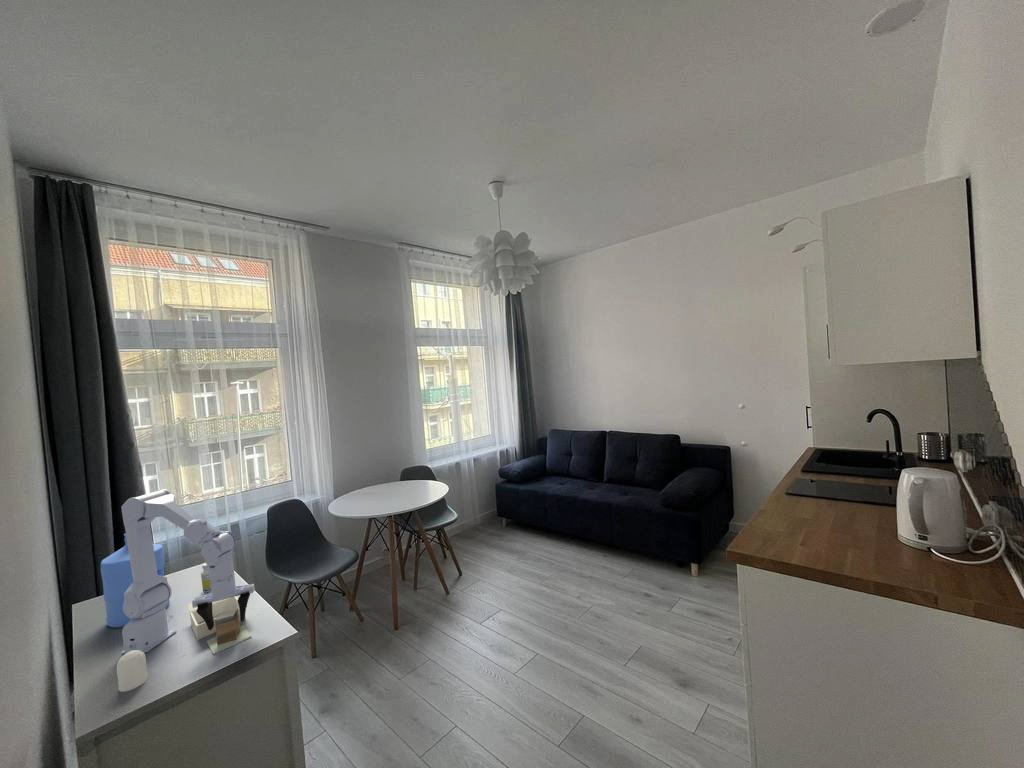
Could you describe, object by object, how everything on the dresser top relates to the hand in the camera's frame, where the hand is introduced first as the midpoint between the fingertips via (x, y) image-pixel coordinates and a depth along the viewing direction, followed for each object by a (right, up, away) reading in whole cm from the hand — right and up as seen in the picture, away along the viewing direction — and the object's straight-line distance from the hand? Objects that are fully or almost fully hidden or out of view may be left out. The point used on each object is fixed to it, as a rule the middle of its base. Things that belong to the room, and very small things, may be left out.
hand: (227, 623), depth 116 cm
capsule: (-13, -6, -15) cm, 21 cm away
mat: (+1, -5, 0) cm, 5 cm away
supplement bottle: (-30, -8, +34) cm, 46 cm away
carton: (-10, -6, +10) cm, 15 cm away
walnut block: (0, -4, 0) cm, 4 cm away
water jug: (-44, -9, +20) cm, 49 cm away
